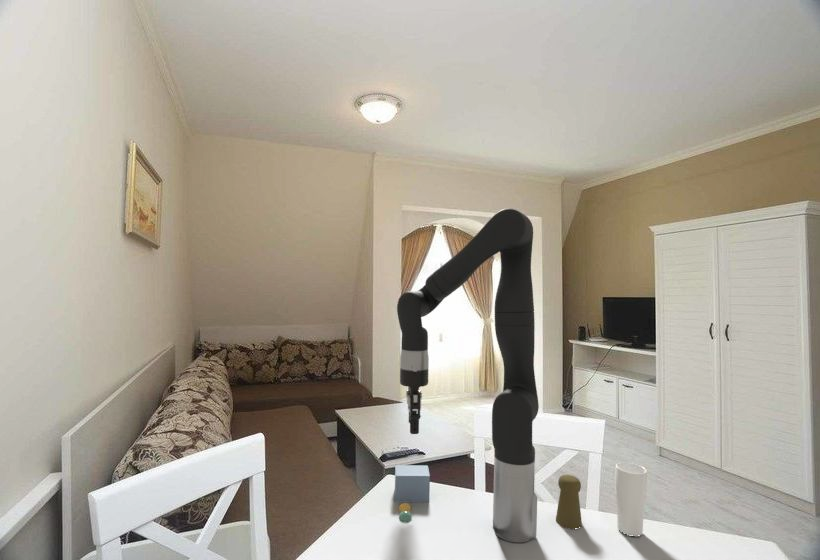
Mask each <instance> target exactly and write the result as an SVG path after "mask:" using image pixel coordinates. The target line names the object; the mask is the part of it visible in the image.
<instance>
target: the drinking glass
mask: <svg viewBox="0 0 820 560" xmlns="http://www.w3.org/2000/svg"><path fill="white" fill-rule="evenodd" d="M614 486H615V487H614V488H615V501H616V502H615V503H616V518H617V521H616V522H617V530H618V531H619V530H620V531H619V532H620V533H622V532H623V533H625V534H628V535H633V536H638V535H641V534H642V535H643V531H644V517H645V510H646V509H645V508H646V500H647V499H646V498H647V492H648V470H647V469H646V468H645V467H643V466H642V465H639V464H636V463H634V462H633V463H632V462H624V461H623V462H622V461H621V462H617V463H616V464H615V469H614ZM623 533H622V534H623ZM625 534H624V535H625ZM628 535H627V536H628ZM642 535H641V536H642Z"/></svg>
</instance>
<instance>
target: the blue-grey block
mask: <svg viewBox="0 0 820 560" xmlns="http://www.w3.org/2000/svg"><path fill="white" fill-rule="evenodd" d="M394 467H395V469H394V470H395V471H394V502H395V503H396V502H399V503H400V502H403V503H408V502H410V503H411V502H413V503H414V502H415V503H417V502H418V503H421V502H423V503H424V502H425V503H426V502H427V503H429V502H430V490H431V489H430V484H431V483H430V482H431V480H430V479H431V476H430V475H431V473H430V470H429V466H428V465H420V464H419V465H418V464H417V465H414V464H413V465H410V464H406V465H403V464H402V465H401V464H400V465H399V464H398V465H395V466H394Z"/></svg>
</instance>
